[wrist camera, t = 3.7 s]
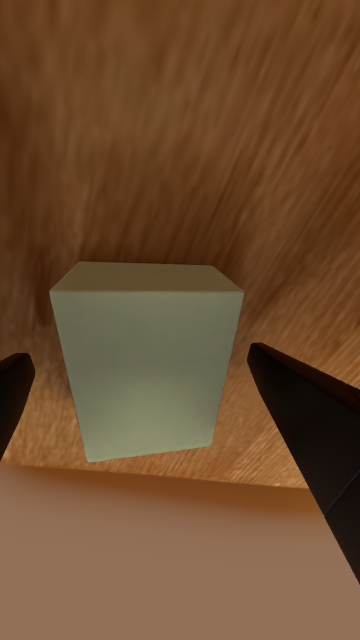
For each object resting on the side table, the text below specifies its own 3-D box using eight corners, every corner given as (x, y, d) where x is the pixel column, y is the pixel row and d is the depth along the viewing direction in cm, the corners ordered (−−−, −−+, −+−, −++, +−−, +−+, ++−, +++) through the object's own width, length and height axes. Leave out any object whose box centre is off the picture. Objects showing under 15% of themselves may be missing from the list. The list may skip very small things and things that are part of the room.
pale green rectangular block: (194, 393, 12) (211, 447, 9) (98, 401, 11) (86, 463, 8) (213, 264, 9) (245, 291, 6) (78, 260, 8) (47, 290, 5)
